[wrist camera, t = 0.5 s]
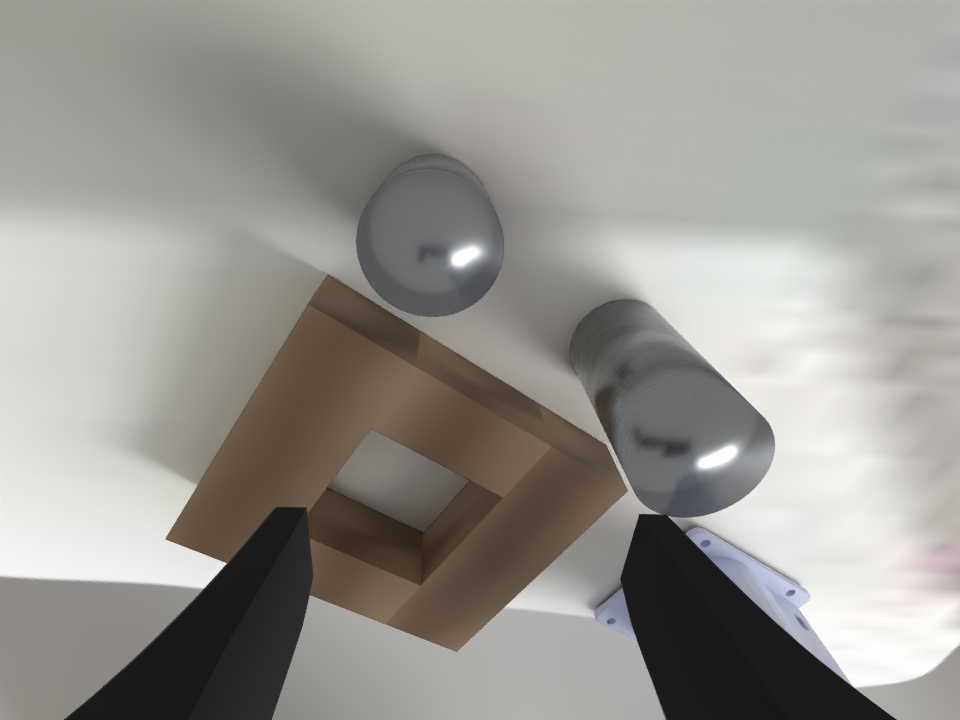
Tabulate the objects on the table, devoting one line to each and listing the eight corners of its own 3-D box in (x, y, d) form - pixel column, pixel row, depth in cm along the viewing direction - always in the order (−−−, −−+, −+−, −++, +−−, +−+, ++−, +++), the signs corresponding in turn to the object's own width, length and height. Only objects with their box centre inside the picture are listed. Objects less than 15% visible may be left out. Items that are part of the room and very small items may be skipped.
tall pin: (687, 334, 20) (804, 446, 14) (620, 403, 22) (697, 536, 15) (616, 280, 19) (707, 375, 12) (550, 357, 20) (600, 480, 14)
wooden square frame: (606, 445, 23) (627, 491, 20) (455, 597, 27) (456, 651, 24) (328, 274, 18) (308, 304, 16) (198, 487, 22) (165, 539, 20)
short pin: (513, 201, 18) (533, 231, 14) (449, 290, 19) (449, 341, 15) (417, 128, 16) (407, 136, 12) (355, 229, 18) (329, 266, 14)
